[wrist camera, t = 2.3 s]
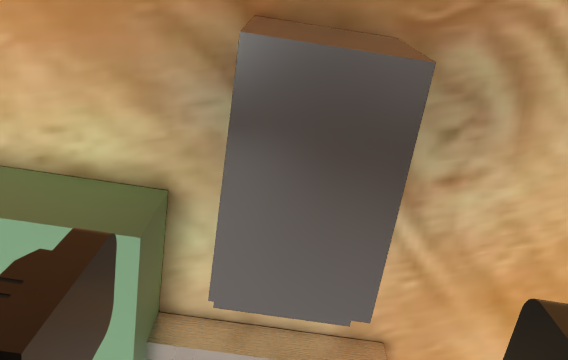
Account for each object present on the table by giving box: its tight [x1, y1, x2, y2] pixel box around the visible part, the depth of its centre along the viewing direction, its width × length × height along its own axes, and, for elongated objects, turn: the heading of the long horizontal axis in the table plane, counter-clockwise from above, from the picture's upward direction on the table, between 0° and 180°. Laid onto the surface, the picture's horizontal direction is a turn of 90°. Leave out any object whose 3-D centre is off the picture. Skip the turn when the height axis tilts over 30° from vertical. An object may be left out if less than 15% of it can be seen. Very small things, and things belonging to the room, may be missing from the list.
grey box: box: [208, 16, 436, 327], centre depth 18 cm, size 10×5×6 cm, turn 171°
